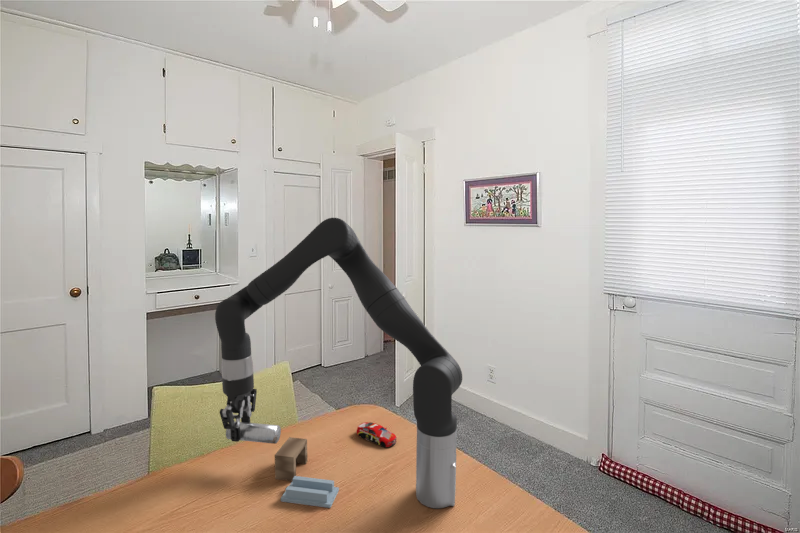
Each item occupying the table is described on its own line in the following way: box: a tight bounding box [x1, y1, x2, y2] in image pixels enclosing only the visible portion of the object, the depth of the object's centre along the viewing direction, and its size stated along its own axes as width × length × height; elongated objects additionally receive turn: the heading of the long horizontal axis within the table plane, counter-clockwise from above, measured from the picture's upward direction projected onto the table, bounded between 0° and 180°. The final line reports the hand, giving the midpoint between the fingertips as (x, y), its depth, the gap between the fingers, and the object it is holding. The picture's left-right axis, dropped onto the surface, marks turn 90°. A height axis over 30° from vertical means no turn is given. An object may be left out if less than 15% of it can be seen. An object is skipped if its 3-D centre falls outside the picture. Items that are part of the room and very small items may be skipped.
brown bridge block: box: [274, 436, 308, 482], centre depth 106 cm, size 5×8×6 cm, turn 170°
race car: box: [356, 421, 397, 449], centre depth 122 cm, size 13×5×4 cm, turn 54°
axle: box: [225, 420, 282, 444], centre depth 107 cm, size 13×4×4 cm, turn 80°
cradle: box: [280, 475, 340, 509], centre depth 97 cm, size 12×6×3 cm, turn 80°
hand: (241, 435), depth 108 cm, fingers closed on axle, 4 cm apart
